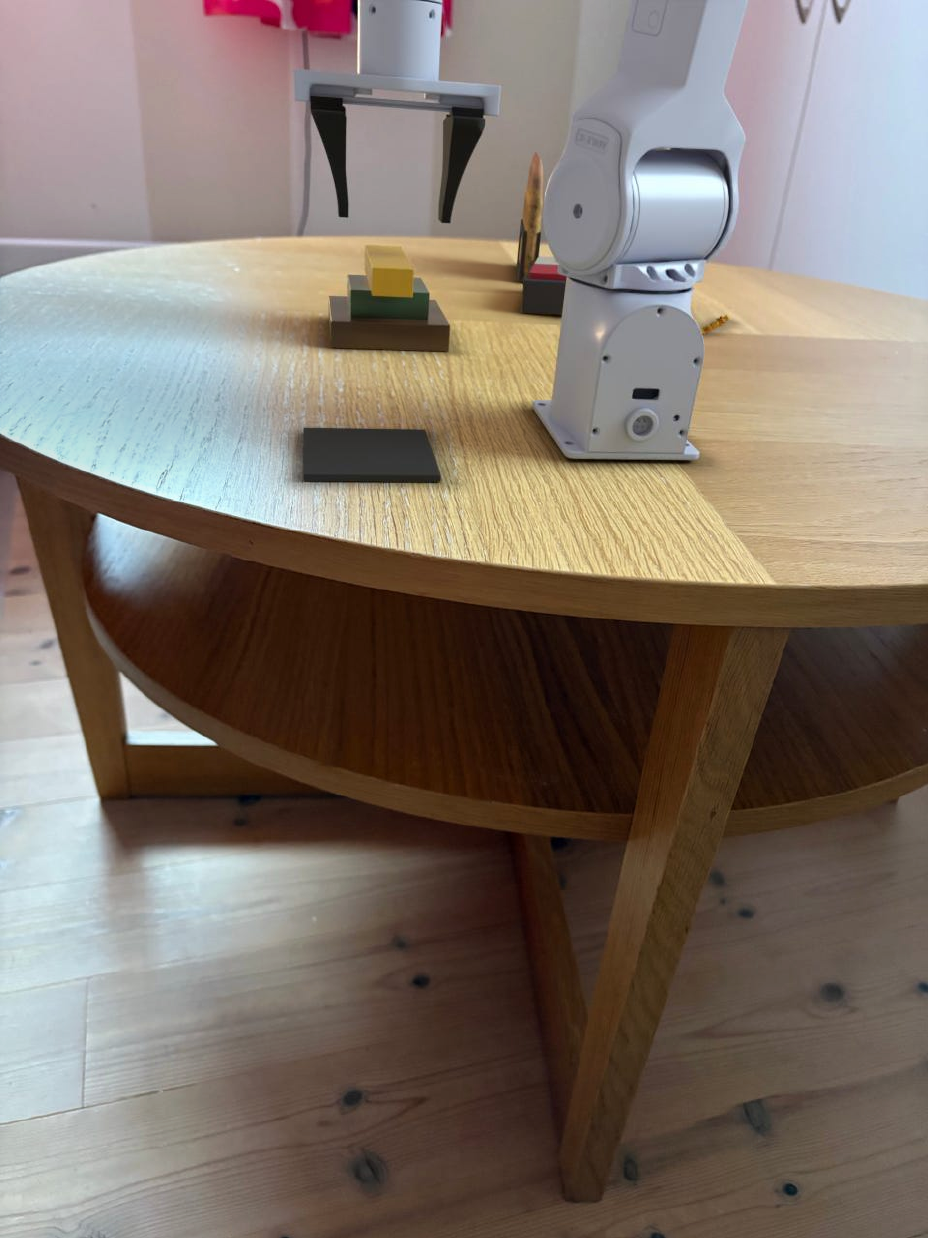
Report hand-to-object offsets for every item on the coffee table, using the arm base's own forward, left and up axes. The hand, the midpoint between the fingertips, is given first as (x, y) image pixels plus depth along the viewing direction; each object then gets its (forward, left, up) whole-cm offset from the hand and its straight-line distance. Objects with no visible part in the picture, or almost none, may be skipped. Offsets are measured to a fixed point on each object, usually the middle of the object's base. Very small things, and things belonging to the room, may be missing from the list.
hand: (394, 218), depth 67 cm
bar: (0, 0, -5) cm, 5 cm away
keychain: (+7, -31, -9) cm, 33 cm away
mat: (-27, +3, -9) cm, 29 cm away
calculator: (+13, -22, -9) cm, 27 cm away
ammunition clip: (+30, -18, -9) cm, 36 cm away
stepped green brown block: (0, 0, -9) cm, 9 cm away
